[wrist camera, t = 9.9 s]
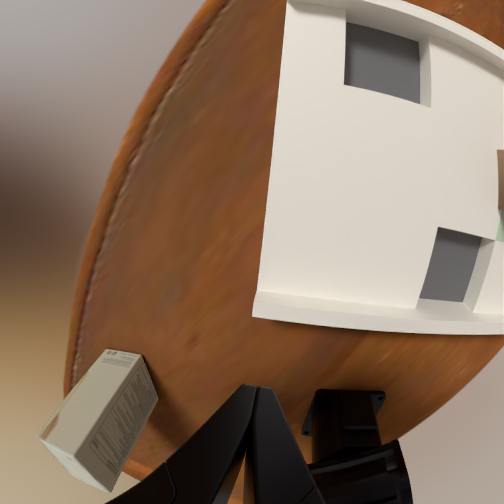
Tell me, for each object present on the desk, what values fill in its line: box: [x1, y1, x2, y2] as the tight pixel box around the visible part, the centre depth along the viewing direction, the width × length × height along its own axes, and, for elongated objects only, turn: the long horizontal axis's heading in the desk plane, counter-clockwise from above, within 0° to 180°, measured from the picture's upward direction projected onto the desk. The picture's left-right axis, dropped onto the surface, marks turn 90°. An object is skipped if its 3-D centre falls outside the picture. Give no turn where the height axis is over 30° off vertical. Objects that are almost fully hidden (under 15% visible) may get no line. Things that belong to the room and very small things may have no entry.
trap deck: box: [252, 0, 504, 335], centre depth 13 cm, size 20×22×4 cm
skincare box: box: [36, 349, 158, 493], centre depth 18 cm, size 6×4×12 cm
